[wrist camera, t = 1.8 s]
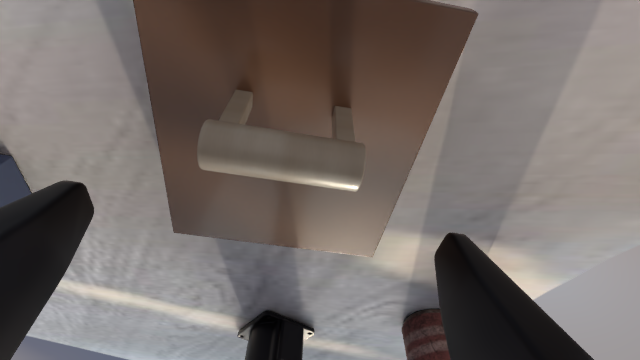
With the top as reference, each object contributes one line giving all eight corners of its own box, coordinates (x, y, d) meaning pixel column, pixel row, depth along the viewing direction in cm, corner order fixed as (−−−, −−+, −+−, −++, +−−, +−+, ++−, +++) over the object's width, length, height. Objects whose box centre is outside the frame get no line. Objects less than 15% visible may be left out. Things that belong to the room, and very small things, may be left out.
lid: (132, -60, 10) (9, -50, 6) (472, 8, 11) (550, 54, 7) (177, 223, 19) (136, 305, 15) (371, 248, 20) (382, 331, 16)
